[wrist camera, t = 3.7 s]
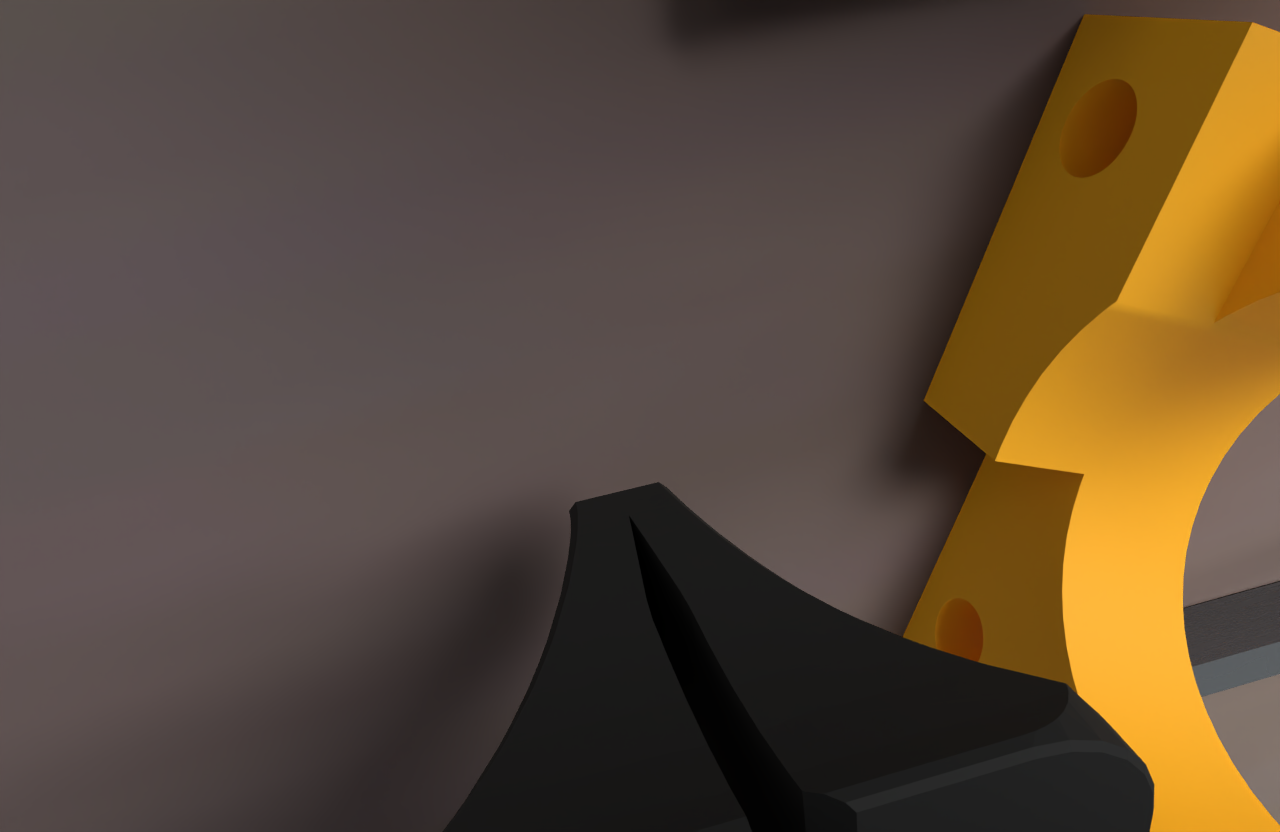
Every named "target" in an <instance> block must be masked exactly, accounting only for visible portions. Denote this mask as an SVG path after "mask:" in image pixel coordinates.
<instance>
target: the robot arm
mask: <svg viewBox="0 0 1280 832" xmlns="http://www.w3.org/2000/svg"><path fill="white" fill-rule="evenodd" d="M569 512H570V517H571V538H570V547H569V555H568V562H567V567H566V572H565V577H564V582H563V587H562V591H561V595H560V599H559V603H558V606H557V610H556V613H555V617H554V620H553V623H552V627H551V630H550V633H549V637H548V640H547V643H546V645H545V648H544V651H543V654H542V656H541V659H540V662H539V664H538V667H537V669H536V672H535V674H534V676H533V679H532V681H531V683H530V686H529V688H528V690H527V693H526V695H525V697H524V699H523V701H522V703H521V705H520V707H519V709H518V711H517V713H516V715H515V717H514V719H513V721H512V723H511V725H510V727H509V729H508V731H507V733H506V735H505V737H504V738H503V740H502V742H501V744H500V746H499V747H498V749H497V751H496V752H495V754H494V756H493V757H492V759H491V760H490V762H489V764H488V765H487V767H486V768H485V770H484V772H483V773H482V775H481V776H480V778H479V780H478V781H477V783H476V784H475V786H474V788H473V789H472V791H471V792H470V794H469V796H468V797H467V799H466V800H465V802H464V803H463V805H462V806H461V808H460V809H459V810H458V812H457V813H456V815H455V816H454V817H453V819H452V820H451V821H450V823H449V824H448V825H447V827H446V828H445V829H444V831H443V832H1150V827H1151V822H1152V817H1153V811H1154V782H1153V780H1152V777H1151V775H1150V773H1149V770H1148V768H1147V766H1146V764H1145V763H1144V762H1143V761H1142V759H1141V758H1140V757H1139V756H1138V755H1137V754H1136V753H1135V752H1134V751H1133V750H1132V749H1131V747H1130V746H1129V745H1128V744H1127V743H1126V742H1125V741H1124V740H1123V739H1122V738H1121V736H1120V735H1119V734H1118V733H1117V732H1116V731H1115V730H1114V729H1113V728H1112V727H1111V726H1110V725H1109V724H1108V723H1107V721H1106V720H1105V719H1104V718H1103V717H1102V716H1101V715H1100V714H1099V713H1098V712H1097V711H1095V710H1094V709H1093V708H1092V707H1091V706H1090V705H1089V704H1088V703H1087V702H1085V701H1084V700H1083V699H1082V698H1081V697H1080V696H1079V695H1078V694H1077V693H1076V692H1075V691H1073V690H1072V689H1071V688H1070V687H1069V686H1068V685H1067V684H1066V683H1063V682H1058V681H1054V680H1050V679H1046V678H1042V677H1037V676H1033V675H1029V674H1025V673H1020V672H1016V671H1012V670H1008V669H1004V668H999V667H995V666H991V665H987V664H983V663H980V662H976V661H973V660H969V659H966V658H963V657H960V656H957V655H954V654H950V653H947V652H944V651H941V650H938V649H934V648H931V647H928V646H926V645H923V644H920V643H917V642H914V641H912V640H909V639H906V638H903V637H901V636H898V635H896V634H893V633H891V632H888V631H886V630H884V629H881V628H879V627H876V626H874V625H872V624H869V623H867V622H864V621H862V620H860V619H857V618H855V617H853V616H851V615H849V614H847V613H844V612H842V611H840V610H838V609H836V608H834V607H832V606H830V605H828V604H826V603H825V602H823V601H821V600H819V599H817V598H815V597H813V596H811V595H809V594H807V593H806V592H804V591H802V590H800V589H799V588H797V587H795V586H794V585H792V584H790V583H789V582H787V581H786V580H784V579H782V578H781V577H779V576H778V575H776V574H775V573H773V572H772V571H770V570H769V569H767V568H766V567H764V566H763V565H761V564H760V563H758V562H757V561H755V560H754V559H753V558H751V557H750V556H748V555H747V554H745V553H744V552H743V551H741V550H740V549H739V548H738V547H736V546H735V545H734V544H732V543H731V542H730V541H728V540H727V539H726V538H724V537H723V536H722V535H720V534H719V533H718V532H717V531H715V530H714V529H713V528H712V527H710V526H709V525H708V524H707V523H706V522H704V521H703V520H702V519H701V518H700V517H699V516H697V515H696V514H695V513H694V512H693V511H692V510H690V509H689V508H688V507H687V506H686V505H685V504H684V503H683V502H682V501H680V500H679V499H678V498H677V497H676V496H675V495H674V494H673V493H672V492H671V491H670V490H669V489H668V488H667V487H665V486H664V485H662V484H661V483H659V482H657V483H653V484H649V485H645V486H641V487H637V488H632V489H628V490H624V491H620V492H616V493H612V494H608V495H603V496H599V497H595V498H591V499H587V500H583V501H579V502H575V504H574V505H573V506H572V508H571V509H570V511H569Z"/></svg>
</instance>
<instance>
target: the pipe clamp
mask: <svg viewBox="0 0 1280 832" xmlns="http://www.w3.org/2000/svg"><path fill="white" fill-rule="evenodd" d="M1279 394H1280V32H1278V31H1275V30H1272V29H1270V28H1267V27H1264V26H1261V25H1259V24H1256V23H1253V22H1237V21H1216V20H1195V19H1174V18H1153V17H1132V16H1111V15H1090V14H1084V16H1083V18H1082V21H1081V23H1080V26H1079V28H1078V31H1077V33H1076V35H1075V38H1074V40H1073V43H1072V45H1071V47H1070V50H1069V52H1068V55H1067V57H1066V59H1065V62H1064V64H1063V67H1062V69H1061V71H1060V74H1059V76H1058V79H1057V81H1056V83H1055V86H1054V88H1053V91H1052V93H1051V96H1050V98H1049V100H1048V103H1047V105H1046V108H1045V110H1044V112H1043V115H1042V117H1041V120H1040V122H1039V124H1038V127H1037V129H1036V132H1035V134H1034V136H1033V139H1032V141H1031V144H1030V146H1029V148H1028V151H1027V153H1026V156H1025V158H1024V160H1023V163H1022V165H1021V168H1020V170H1019V173H1018V175H1017V177H1016V180H1015V182H1014V185H1013V187H1012V189H1011V192H1010V194H1009V197H1008V199H1007V201H1006V204H1005V206H1004V209H1003V211H1002V213H1001V216H1000V218H999V221H998V223H997V225H996V228H995V230H994V233H993V235H992V238H991V240H990V242H989V245H988V247H987V250H986V252H985V254H984V257H983V259H982V262H981V264H980V266H979V269H978V271H977V274H976V276H975V278H974V281H973V283H972V286H971V288H970V290H969V293H968V295H967V298H966V300H965V302H964V305H963V307H962V310H961V312H960V315H959V317H958V319H957V322H956V324H955V327H954V329H953V331H952V334H951V336H950V339H949V341H948V343H947V346H946V348H945V351H944V353H943V355H942V358H941V360H940V363H939V365H938V367H937V370H936V372H935V375H934V377H933V380H932V382H931V384H930V387H929V389H928V392H927V394H926V396H925V399H924V401H925V402H926V403H927V404H928V405H929V406H931V407H932V408H933V409H934V410H935V411H936V412H938V413H939V414H940V415H941V416H942V417H944V418H945V419H946V420H947V421H948V422H949V423H951V424H952V425H953V426H954V427H955V428H957V429H958V430H959V431H960V432H961V433H962V434H964V435H965V436H966V437H967V438H968V439H970V440H971V441H972V442H973V443H974V444H976V445H977V446H978V447H979V448H980V449H981V450H983V451H984V452H985V453H986V456H985V458H984V460H983V462H982V464H981V467H980V469H979V471H978V473H977V475H976V477H975V480H974V482H973V484H972V486H971V488H970V491H969V493H968V495H967V497H966V499H965V502H964V504H963V506H962V508H961V510H960V512H959V515H958V517H957V519H956V521H955V523H954V526H953V528H952V530H951V532H950V534H949V536H948V539H947V541H946V543H945V545H944V547H943V550H942V552H941V554H940V556H939V558H938V560H937V563H936V565H935V567H934V569H933V571H932V574H931V576H930V578H929V580H928V582H927V584H926V587H925V589H924V591H923V593H922V595H921V598H920V600H919V602H918V604H917V606H916V608H915V611H914V613H913V615H912V617H911V619H910V622H909V624H908V626H907V628H906V630H905V632H904V635H903V638H906V639H909V640H912V641H914V642H917V643H920V644H923V645H926V646H928V647H931V648H934V649H938V650H941V651H944V652H947V653H950V654H954V655H957V656H960V657H963V658H966V659H969V660H973V661H976V662H980V663H983V664H987V665H991V666H995V667H999V668H1004V669H1008V670H1012V671H1016V672H1020V673H1025V674H1029V675H1033V676H1037V677H1042V678H1046V679H1050V680H1054V681H1058V682H1063V683H1066V684H1067V685H1068V686H1069V687H1070V688H1071V689H1072V690H1073V691H1075V692H1076V693H1077V694H1078V695H1079V696H1080V697H1081V698H1082V699H1083V700H1084V701H1085V702H1087V703H1088V704H1089V705H1090V706H1091V707H1092V708H1093V709H1094V710H1095V711H1097V712H1098V713H1099V714H1100V715H1101V716H1102V717H1103V718H1104V719H1105V720H1106V721H1107V723H1108V724H1109V725H1110V726H1111V727H1112V728H1113V729H1114V730H1115V731H1116V732H1117V733H1118V734H1119V735H1120V736H1121V738H1122V739H1123V740H1124V741H1125V742H1126V743H1127V744H1128V745H1129V746H1130V747H1131V749H1132V750H1133V751H1134V752H1135V753H1136V754H1137V755H1138V756H1139V757H1140V758H1141V759H1142V761H1143V762H1144V763H1145V764H1146V766H1147V768H1148V770H1149V773H1150V775H1151V777H1152V780H1153V782H1154V811H1153V817H1152V822H1151V827H1150V832H1280V825H1279V824H1278V823H1277V822H1276V821H1275V820H1274V819H1273V818H1272V816H1271V815H1270V814H1269V813H1268V811H1267V810H1266V809H1265V807H1264V806H1263V805H1262V804H1261V802H1260V801H1259V800H1258V799H1257V797H1256V796H1255V795H1254V794H1253V792H1252V791H1251V790H1250V788H1249V787H1248V785H1247V784H1246V782H1245V781H1244V779H1243V778H1242V776H1241V775H1240V773H1239V772H1238V770H1237V769H1236V767H1235V766H1234V764H1233V763H1232V761H1231V759H1230V757H1229V756H1228V754H1227V752H1226V750H1225V748H1224V747H1223V745H1222V743H1221V741H1220V740H1219V738H1218V736H1217V734H1216V731H1215V729H1214V727H1213V725H1212V723H1211V720H1210V718H1209V716H1208V714H1207V712H1206V709H1205V707H1204V704H1203V701H1202V698H1201V695H1200V693H1199V690H1198V687H1197V684H1196V681H1195V677H1194V673H1193V669H1192V666H1191V662H1190V658H1189V653H1188V647H1187V641H1186V635H1185V629H1184V615H1183V575H1184V567H1185V559H1186V551H1187V547H1188V542H1189V538H1190V534H1191V529H1192V525H1193V522H1194V519H1195V516H1196V513H1197V510H1198V507H1199V504H1200V502H1201V499H1202V497H1203V495H1204V493H1205V491H1206V488H1207V486H1208V484H1209V482H1210V480H1211V478H1212V476H1213V474H1214V473H1215V471H1216V469H1217V467H1218V466H1219V464H1220V462H1221V460H1222V459H1223V457H1224V455H1225V454H1226V453H1227V451H1228V450H1229V449H1230V447H1231V446H1232V444H1233V443H1234V442H1235V440H1236V439H1237V437H1238V436H1239V435H1240V434H1241V432H1242V431H1243V430H1244V429H1245V428H1246V427H1247V426H1248V425H1249V423H1250V422H1251V421H1252V420H1253V419H1254V418H1255V417H1256V415H1257V414H1258V413H1259V412H1260V411H1262V410H1263V409H1264V408H1265V407H1266V406H1267V405H1268V404H1269V403H1270V402H1271V401H1272V400H1273V399H1274V398H1276V397H1277V396H1278V395H1279Z"/></svg>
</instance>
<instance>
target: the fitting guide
mask: <svg viewBox="0 0 1280 832" xmlns="http://www.w3.org/2000/svg"><path fill="white" fill-rule="evenodd" d="M1183 615H1184V629H1185V635H1186V641H1187V647H1188V653H1189V658H1190V662H1191V666H1192V669H1193V673H1194V677H1195V681H1196V684H1197V687H1198V690H1199V693H1200V695H1201V697H1203V696H1206V695H1209V694H1213V693H1216V692H1220V691H1223V690H1226V689H1230V688H1233V687H1237V686H1240V685H1243V684H1247V683H1250V682H1254V681H1257V680H1260V679H1264V678H1267V677H1271V676H1274V675H1277V674H1280V582H1276V583H1273V584H1269V585H1266V586H1262V587H1259V588H1255V589H1251V590H1248V591H1244V592H1241V593H1237V594H1233V595H1230V596H1226V597H1223V598H1219V599H1215V600H1212V601H1208V602H1205V603H1201V604H1198V605H1194V606H1190V607H1187V608H1183Z"/></svg>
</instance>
